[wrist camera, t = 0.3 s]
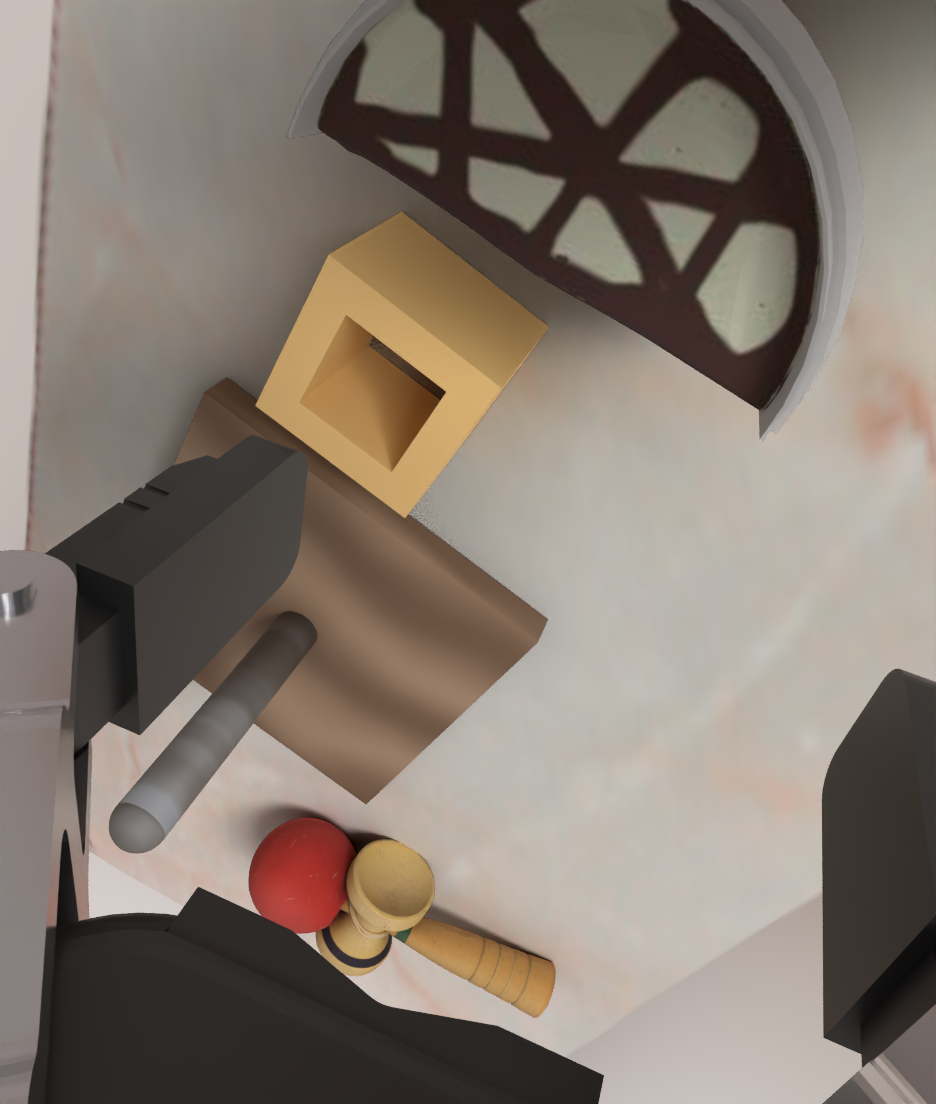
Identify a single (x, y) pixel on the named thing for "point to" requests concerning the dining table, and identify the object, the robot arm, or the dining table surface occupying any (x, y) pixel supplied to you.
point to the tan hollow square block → (415, 335)
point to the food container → (626, 163)
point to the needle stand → (335, 641)
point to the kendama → (379, 910)
